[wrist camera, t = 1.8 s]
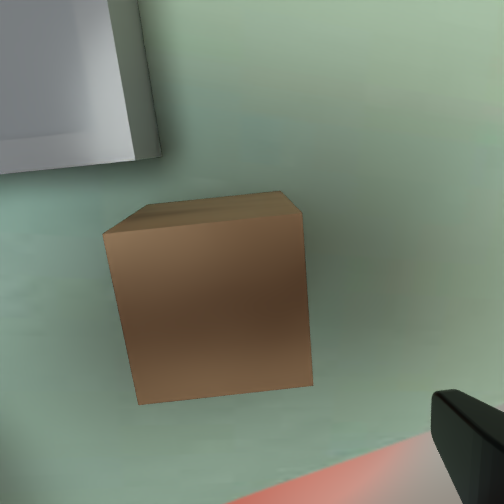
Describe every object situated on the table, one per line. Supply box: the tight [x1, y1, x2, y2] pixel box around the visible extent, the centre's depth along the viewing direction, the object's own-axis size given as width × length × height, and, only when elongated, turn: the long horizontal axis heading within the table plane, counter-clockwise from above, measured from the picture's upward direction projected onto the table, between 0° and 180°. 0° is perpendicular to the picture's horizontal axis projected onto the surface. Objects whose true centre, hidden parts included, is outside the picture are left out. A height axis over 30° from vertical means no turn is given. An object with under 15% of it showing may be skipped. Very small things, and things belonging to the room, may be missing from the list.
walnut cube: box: [102, 191, 313, 405], centre depth 15 cm, size 6×6×6 cm
